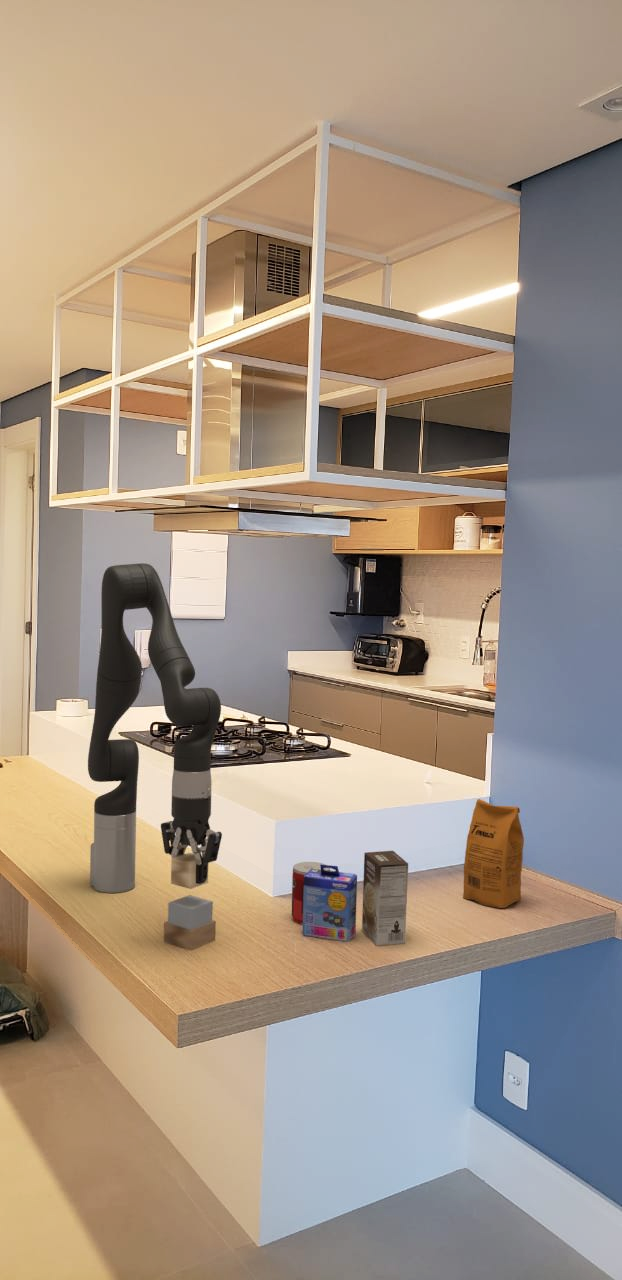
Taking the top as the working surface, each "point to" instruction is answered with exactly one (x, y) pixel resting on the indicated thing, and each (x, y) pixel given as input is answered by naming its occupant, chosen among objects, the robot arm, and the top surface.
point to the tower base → (189, 935)
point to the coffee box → (384, 897)
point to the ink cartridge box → (329, 904)
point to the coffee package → (494, 856)
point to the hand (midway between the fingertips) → (189, 879)
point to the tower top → (190, 912)
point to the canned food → (300, 887)
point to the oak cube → (185, 871)
